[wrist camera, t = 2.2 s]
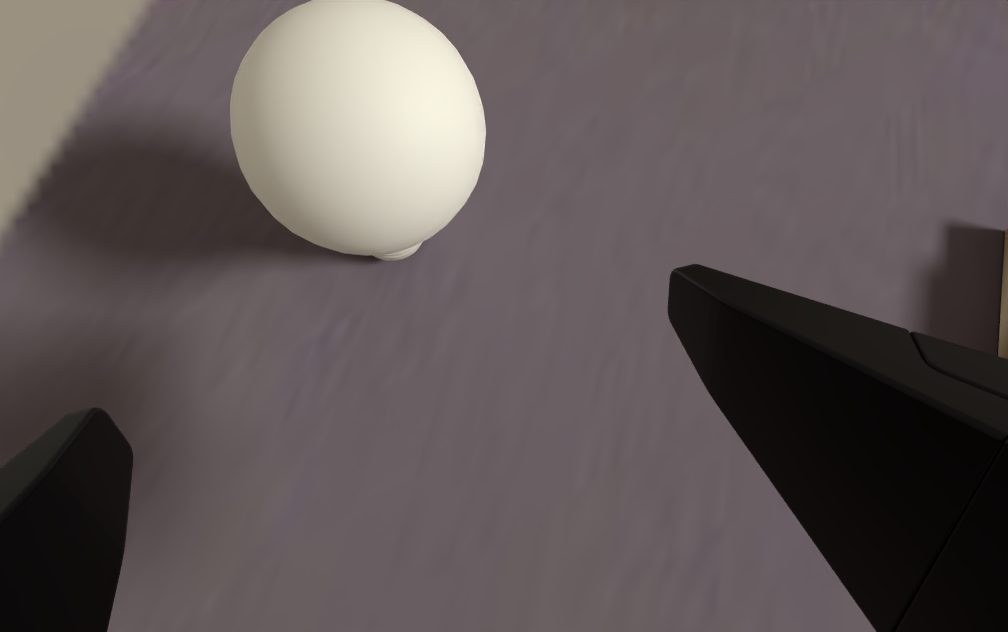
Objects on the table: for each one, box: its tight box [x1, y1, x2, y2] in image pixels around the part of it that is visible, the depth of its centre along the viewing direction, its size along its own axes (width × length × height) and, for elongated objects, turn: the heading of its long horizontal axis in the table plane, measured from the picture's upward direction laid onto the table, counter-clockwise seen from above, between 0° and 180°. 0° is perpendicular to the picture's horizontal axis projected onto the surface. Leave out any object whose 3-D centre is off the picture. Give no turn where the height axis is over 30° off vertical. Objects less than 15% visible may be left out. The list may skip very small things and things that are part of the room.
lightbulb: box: [230, 0, 486, 261], centre depth 17 cm, size 6×6×11 cm
